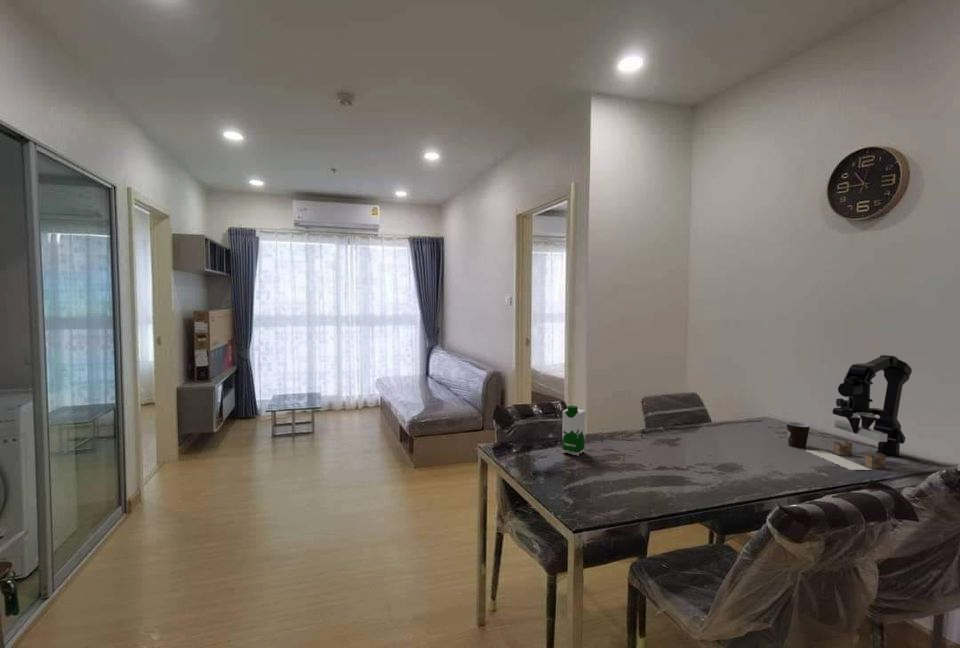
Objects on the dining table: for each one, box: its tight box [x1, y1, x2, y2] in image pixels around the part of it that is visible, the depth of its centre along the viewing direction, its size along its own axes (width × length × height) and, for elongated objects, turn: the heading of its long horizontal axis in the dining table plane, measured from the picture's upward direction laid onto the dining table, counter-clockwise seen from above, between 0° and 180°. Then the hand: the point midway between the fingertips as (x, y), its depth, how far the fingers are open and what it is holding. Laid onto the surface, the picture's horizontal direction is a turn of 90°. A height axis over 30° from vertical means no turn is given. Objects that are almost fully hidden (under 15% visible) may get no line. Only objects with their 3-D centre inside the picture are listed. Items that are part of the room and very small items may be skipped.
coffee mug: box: [786, 421, 811, 449], centre depth 208 cm, size 12×9×10 cm
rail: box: [833, 419, 887, 443], centre depth 187 cm, size 3×22×3 cm, turn 1°
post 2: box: [864, 452, 887, 469], centre depth 180 cm, size 6×3×5 cm, turn 91°
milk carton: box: [561, 405, 587, 452], centre depth 192 cm, size 9×9×20 cm
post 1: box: [832, 440, 853, 456], centre depth 196 cm, size 6×3×5 cm, turn 91°
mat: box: [805, 449, 872, 472], centre depth 188 cm, size 8×24×1 cm, turn 1°
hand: (859, 433), depth 187 cm, fingers closed on rail, 3 cm apart
